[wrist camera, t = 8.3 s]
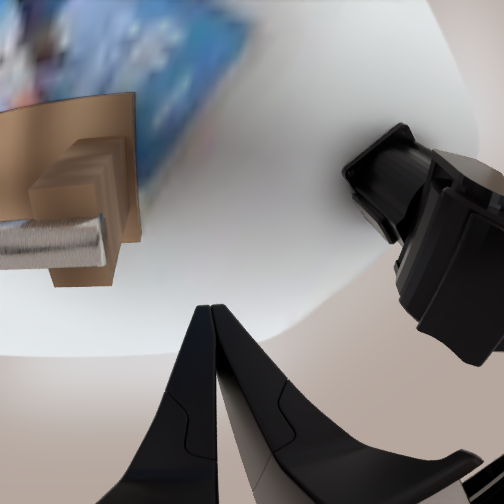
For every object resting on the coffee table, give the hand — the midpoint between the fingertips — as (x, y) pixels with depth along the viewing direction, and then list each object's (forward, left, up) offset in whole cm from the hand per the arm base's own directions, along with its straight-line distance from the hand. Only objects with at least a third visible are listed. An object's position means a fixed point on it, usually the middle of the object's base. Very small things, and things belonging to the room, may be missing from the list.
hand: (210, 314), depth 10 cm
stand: (+11, -11, -13) cm, 21 cm away
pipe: (+11, -11, -6) cm, 17 cm away
